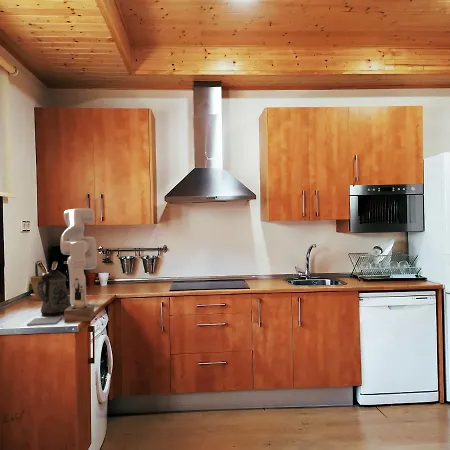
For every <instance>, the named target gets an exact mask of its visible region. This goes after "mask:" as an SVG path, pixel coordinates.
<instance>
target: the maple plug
mask: <svg viewBox="0 0 450 450" xmlns="http://www.w3.org/2000/svg"><path fill="white" fill-rule="evenodd" d="M73 291H74V309H85V300H84V289H83V288H81V290H80V292H81V300H75V289H74V290H73Z"/></svg>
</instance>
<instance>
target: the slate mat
mask: <svg viewBox="0 0 450 450" xmlns="http://www.w3.org/2000/svg"><path fill="white" fill-rule="evenodd" d="M62 319H63V317H62V316H56V317H35V318H33V319H32V320H30V321H29V322H28V323H27V324H26V326H28V327H29V326H43V325H44V326H47V325H57V324H58V323H59V322H60V321H61V320H62Z"/></svg>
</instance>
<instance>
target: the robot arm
mask: <svg viewBox="0 0 450 450" xmlns="http://www.w3.org/2000/svg"><path fill="white" fill-rule="evenodd" d="M95 215H96V214H95V211H94V209H92V208H85V207H82V208H81V207H80V208H72V209H71V208H70V209H66V210H65V211H64V212H63V219H64V222H65V224H66V225H65V226H66V227H67V228H66V229H65V230H64V231H63V232H62V234H61V236H60V242H59V243H60V252H61V254H63V255H65V256H66V255H67V256H68V257H67V262H66V263H67V267H68V275H69V301H70V303H71V305H72V306H74V291H73V290H74V289H75V300H81V292H80V290H81V288H83V289H84V300H85V305H90V303H89V302H88V301H87V284H86V283H87V281H86V280H87V279H86V274H85V271H84V270H94V269H96V268H97V266H98V253H97V252H98V251H97V241H96V238H95V237H94V236H84V231H85V224H88V223H90V224H91V223H93V222H95ZM86 253H87V254H86Z"/></svg>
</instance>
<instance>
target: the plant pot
mask: <svg viewBox="0 0 450 450" xmlns="http://www.w3.org/2000/svg"><path fill="white" fill-rule="evenodd" d="M43 275H44V274H43ZM43 275H42V274H41V275H35V276H34V275H33V276H30V283H31V286H32V287H31V288H32V290H33V293H34V295H35V298H36V299H37V301H43V300H42V299H41V298H40V297H39V295H38V293H37V285H38V282H39V281H40V280H42V276H43ZM44 286H45V284H44ZM44 286H43V292H44Z"/></svg>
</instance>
